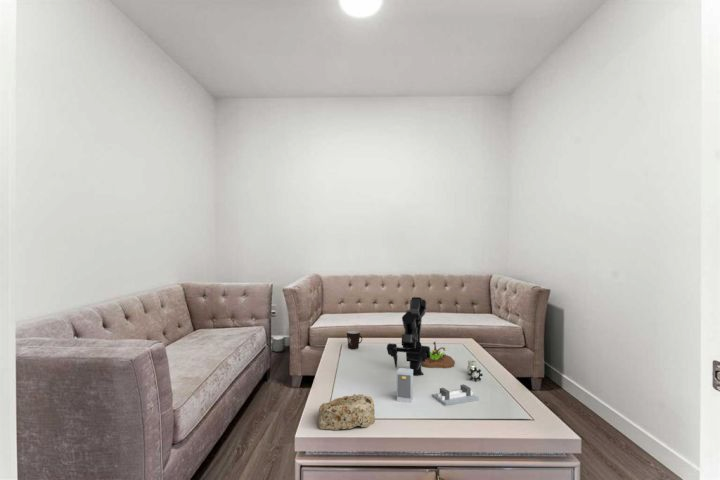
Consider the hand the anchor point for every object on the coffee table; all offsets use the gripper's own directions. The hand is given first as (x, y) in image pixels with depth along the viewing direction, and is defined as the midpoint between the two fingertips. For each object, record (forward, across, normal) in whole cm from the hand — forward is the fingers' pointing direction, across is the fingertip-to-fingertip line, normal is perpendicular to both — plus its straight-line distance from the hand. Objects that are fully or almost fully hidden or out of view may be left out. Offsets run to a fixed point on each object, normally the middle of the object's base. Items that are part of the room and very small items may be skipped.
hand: (406, 368), depth 155 cm
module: (+11, 0, +5) cm, 12 cm away
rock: (+29, -18, -12) cm, 36 cm away
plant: (-27, +8, +44) cm, 52 cm away
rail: (+6, +20, +10) cm, 23 cm away
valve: (-14, +28, +30) cm, 44 cm away
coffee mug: (-38, -43, +54) cm, 78 cm away
